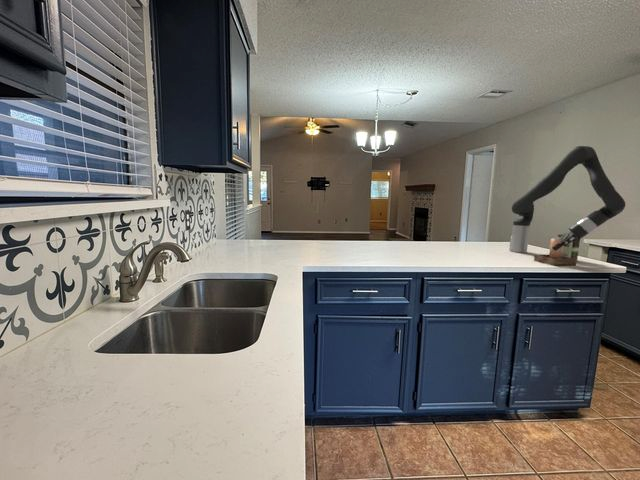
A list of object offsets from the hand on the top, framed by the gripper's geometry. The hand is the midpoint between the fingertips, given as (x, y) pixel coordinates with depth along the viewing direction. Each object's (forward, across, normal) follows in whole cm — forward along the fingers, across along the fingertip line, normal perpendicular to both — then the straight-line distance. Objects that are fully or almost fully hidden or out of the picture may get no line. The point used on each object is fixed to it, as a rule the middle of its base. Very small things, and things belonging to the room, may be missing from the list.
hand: (552, 248), depth 172 cm
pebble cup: (+2, 0, +5) cm, 5 cm away
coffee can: (-1, -15, +13) cm, 20 cm away
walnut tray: (+4, 0, +7) cm, 8 cm away
